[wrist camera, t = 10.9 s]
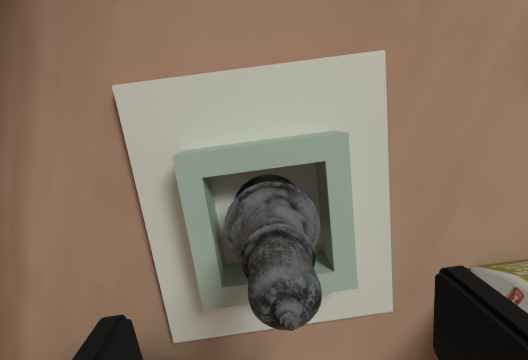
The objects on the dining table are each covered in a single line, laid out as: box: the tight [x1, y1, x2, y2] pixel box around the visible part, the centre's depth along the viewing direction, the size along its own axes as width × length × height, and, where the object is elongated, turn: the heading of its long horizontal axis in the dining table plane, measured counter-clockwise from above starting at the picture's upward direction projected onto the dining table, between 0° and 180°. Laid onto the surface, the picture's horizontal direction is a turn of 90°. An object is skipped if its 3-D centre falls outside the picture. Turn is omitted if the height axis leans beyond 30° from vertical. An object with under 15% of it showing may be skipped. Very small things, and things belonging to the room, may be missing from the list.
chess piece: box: [224, 174, 322, 331], centre depth 15 cm, size 6×6×12 cm
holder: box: [112, 50, 393, 343], centre depth 20 cm, size 20×18×4 cm
